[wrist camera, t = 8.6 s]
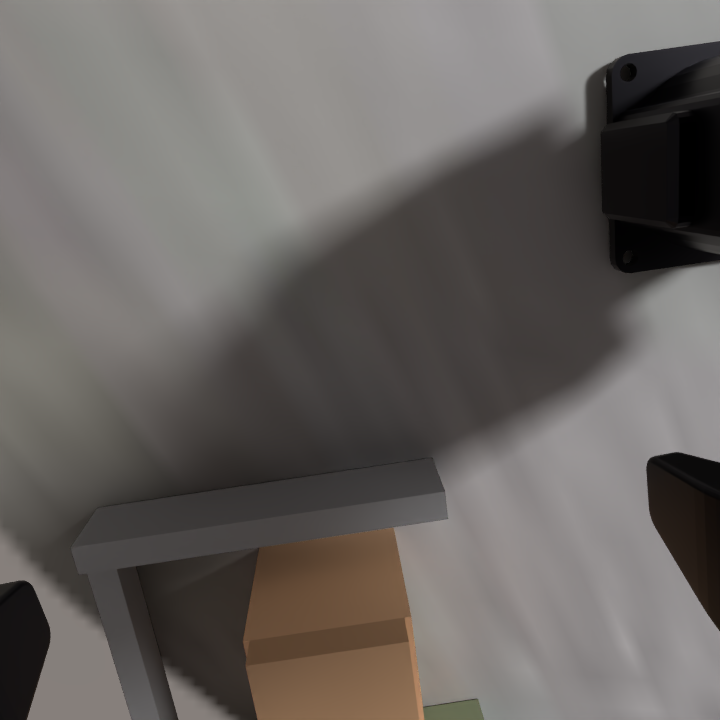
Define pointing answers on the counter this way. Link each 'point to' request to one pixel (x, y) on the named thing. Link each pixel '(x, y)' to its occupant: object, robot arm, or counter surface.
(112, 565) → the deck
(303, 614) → the brown cardboard carton
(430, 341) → the counter surface
